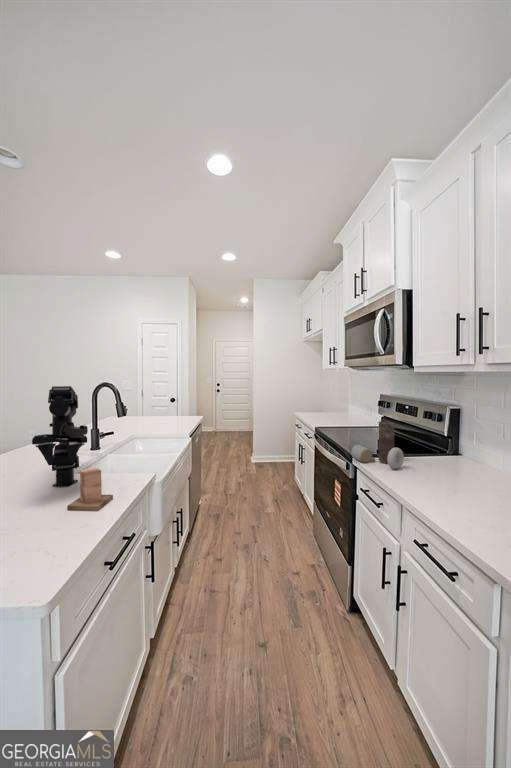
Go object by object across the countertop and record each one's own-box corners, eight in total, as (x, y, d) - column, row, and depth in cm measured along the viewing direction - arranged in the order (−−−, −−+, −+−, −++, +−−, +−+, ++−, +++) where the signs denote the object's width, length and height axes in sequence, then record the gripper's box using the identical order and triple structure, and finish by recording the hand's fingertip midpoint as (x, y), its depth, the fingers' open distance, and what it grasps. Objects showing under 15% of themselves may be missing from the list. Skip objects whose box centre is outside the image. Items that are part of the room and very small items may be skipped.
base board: (84, 498, 115) (84, 494, 115) (112, 499, 115) (112, 494, 114) (67, 510, 105) (67, 505, 105) (97, 511, 105) (97, 506, 104)
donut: (398, 466, 155) (398, 445, 155) (405, 468, 153) (405, 446, 152) (385, 469, 150) (385, 448, 150) (392, 471, 147) (392, 449, 147)
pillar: (80, 500, 110) (79, 470, 109) (96, 496, 113) (95, 467, 113) (85, 504, 106) (85, 473, 106) (101, 500, 110) (101, 470, 109)
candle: (375, 460, 167) (376, 420, 166) (389, 459, 167) (390, 420, 167) (382, 464, 159) (383, 423, 158) (397, 464, 160) (397, 422, 159)
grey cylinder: (360, 464, 159) (361, 448, 159) (350, 459, 167) (351, 444, 167) (378, 462, 163) (379, 447, 162) (368, 458, 170) (368, 443, 170)
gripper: (58, 414, 108) (58, 463, 105) (99, 418, 126) (99, 460, 123) (31, 419, 111) (30, 467, 107) (74, 423, 128) (74, 463, 125)
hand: (61, 464), depth 116 cm, fingers open, 9 cm apart
